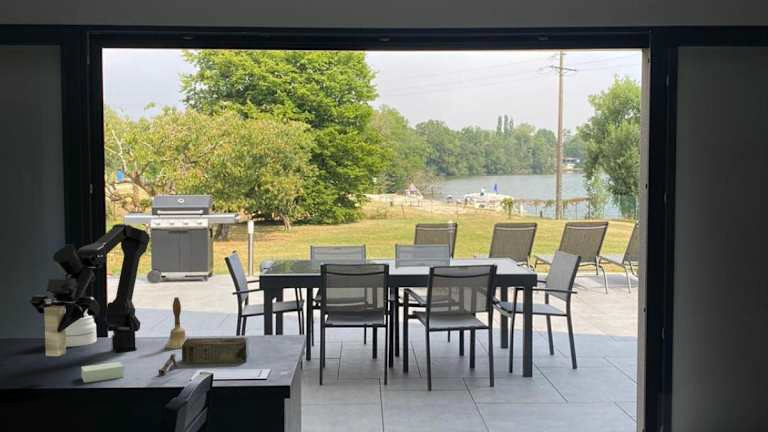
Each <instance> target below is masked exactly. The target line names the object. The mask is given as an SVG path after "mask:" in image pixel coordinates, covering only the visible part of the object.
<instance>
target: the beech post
mask: <svg viewBox="0 0 768 432" xmlns="http://www.w3.org/2000/svg"><path fill="white" fill-rule="evenodd" d="M64 314H65V306H50V307H46V308H44V314H43V315H44V325H45V331H44V339H45V340H44V343H45V345H44V346H45V356H47V357H59V356H63V355H65V354H67V347H66V331H65V329H64V330H63V331H62V332H60V333H59V332H58V331H57V330H58V327H59V324H60V322H61V320H62V318H63V316H64Z"/></svg>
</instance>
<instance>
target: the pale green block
mask: <svg viewBox="0 0 768 432" xmlns="http://www.w3.org/2000/svg"><path fill="white" fill-rule="evenodd" d="M80 371H81V379H82V381H83V383H90V382H97V381H98V382H99V381H105V380H112V379H119V378H124V377H125V375H124V365H123V364H122V363H121V362H120V361H117V362H116V361H115V362H109V363H108V362H107V363H102V364H101V363H100V364H92V365H85V366H81V370H80Z"/></svg>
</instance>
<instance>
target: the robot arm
mask: <svg viewBox="0 0 768 432" xmlns="http://www.w3.org/2000/svg"><path fill="white" fill-rule="evenodd" d="M150 239H151V238H150V234H149V233H148V232H147V231H146V230H145V229H143V230H142V229H140V228H137V227H135V226H132V225H130V224H127V223H119V224H118V223H116V224H113V226H112V228H111V229H109V231H107V232H106V233H105V234H103V236H101V237H100V238H99V239H98V240H96V241H95V242H94V243H91V244H87V245H85V246H82V247H80V248H79V249H76V246H74V244H66V245H65V246H64V247H63V248H62V247H61V248H60V249H58V250H57V251H56V252H54V254H53V257H52V259H53V262H55V264H56V265H57V266H58V268H59V269H60V270H61V271H62V272H63V274H65V275H68V276H67V278H66V279H60V278H59V279H58V278H57V279H54V278H52V279H51V278H49V279H48V280H47V284H46V288H45V292H49V293H51V294H52V297H53V299H52V298H49V297H48V295H36V294H35V295H33V296H32V297H31V299H30V300H29V302H28V303H29V305H30V306H31V307H32V309H34V310H35V311H36V312H37V314H40V315H44V308H46V307H50V306H65V309H66V312H65V314H64V316H63V318H62V320H61V322H60V324H59V327H58V330H57V331H58V332H59V333H60V332H62V331H63V330H64V329H66V328H67V327H68V326H70V325H71V324H73V323H74V322H76V321H77V320H79V319H80V318H84V317H85V315H84V312H85V311H86V310H87V309H88V310H87V314H88V315H89V316H93V317H98V316H99V314H100V312H101V306H100V305H99V303H98V302H97V301H96V299H95V298H94V297H93V296H86V295H87V292H86V290H87V287H88V285H89V283H90V282H95V281H96V276H95V273H94V271H92V270H91V269H100V268H102V266H103V265H104V264H105V263H106V261H107V260H108V258H107V257H108V256H107V255H109V253H110V252H111V251H112V250H113V249H115V248H116V247H117V246H118V245H119V244H120V248H121V250H122V252H123V257H122V258H123V260H122V264H121V269H120V275H119V279H118V283H117V284H118V285H117V290H116V294H115V298H114V300H113V301H112V302H111V301H109V302H108V303H107V306H106V312H105V314H104V315H105V317H104V320H105V325H106V329H107V331H108V332H112V335H110V336H111V337H110V341H111V343H110V344H111V349H112V350H113V351H114V352H115V353H121V352H122V353H123V352H131V351H136V350H138V348H137V347H136V332H138V331H140V328H141V321H140V320H139V319H138V317H137V316H136V308H135V305H134V303H133V297H134V291H135V286H136V281H137V276H138V275H137V274H138V268H139V265H140V258H141V257H142V256H143V255H144V254H145V253H146V251H147V249H148V245H149V243H150V241H151V240H150ZM54 299H56V300H54ZM43 330H44V332H45V324H44V326H43Z"/></svg>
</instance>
